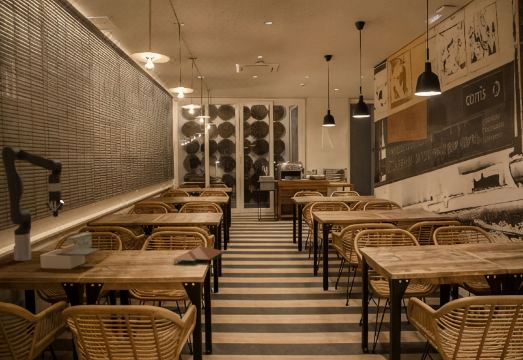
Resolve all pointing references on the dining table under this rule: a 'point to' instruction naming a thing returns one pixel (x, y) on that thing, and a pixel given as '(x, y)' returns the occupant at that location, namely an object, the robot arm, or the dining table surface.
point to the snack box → (81, 241)
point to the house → (199, 255)
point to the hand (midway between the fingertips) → (55, 216)
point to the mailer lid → (76, 251)
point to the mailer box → (61, 260)
